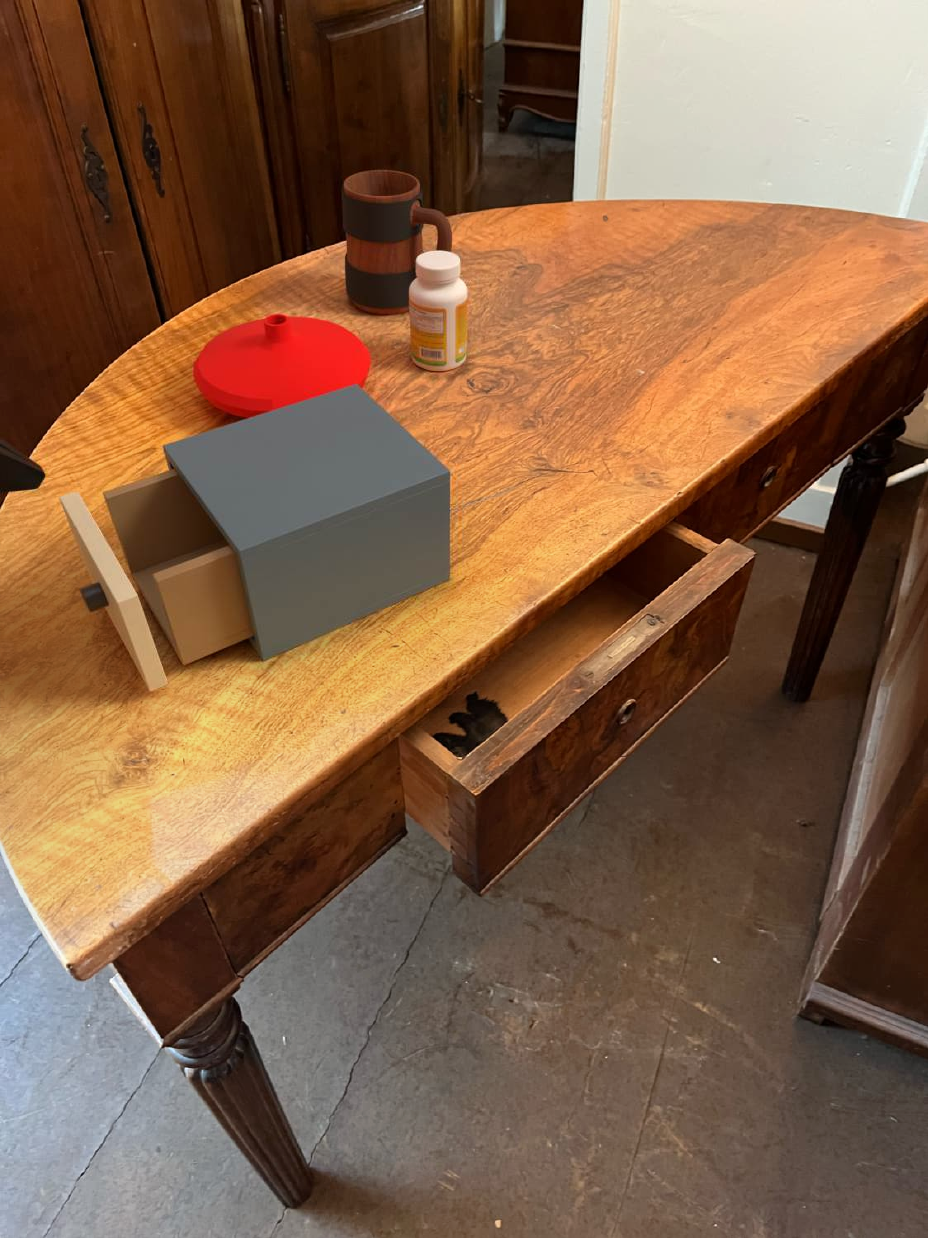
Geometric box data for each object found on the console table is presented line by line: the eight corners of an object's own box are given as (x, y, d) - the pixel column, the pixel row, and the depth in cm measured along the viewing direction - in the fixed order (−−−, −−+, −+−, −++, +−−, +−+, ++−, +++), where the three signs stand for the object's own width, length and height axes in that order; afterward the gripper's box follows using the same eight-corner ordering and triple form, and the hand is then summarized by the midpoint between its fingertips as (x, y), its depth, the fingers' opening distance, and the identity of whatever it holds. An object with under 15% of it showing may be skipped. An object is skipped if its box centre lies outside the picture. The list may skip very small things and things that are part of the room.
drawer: (131, 700, 55) (95, 611, 49) (76, 592, 61) (39, 502, 56) (343, 609, 60) (332, 520, 55) (271, 520, 67) (256, 432, 62)
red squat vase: (273, 464, 74) (260, 388, 69) (164, 393, 81) (145, 320, 76) (408, 391, 82) (406, 318, 77) (298, 332, 89) (289, 263, 84)
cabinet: (263, 661, 58) (238, 550, 51) (191, 554, 66) (162, 445, 59) (450, 579, 64) (450, 470, 57) (365, 489, 71) (356, 383, 65)
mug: (431, 332, 90) (429, 213, 81) (331, 305, 94) (319, 189, 85) (469, 297, 95) (472, 182, 87) (373, 273, 99) (367, 161, 91)
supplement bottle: (451, 340, 89) (452, 242, 82) (476, 365, 85) (478, 265, 78) (402, 351, 87) (398, 252, 80) (425, 377, 84) (422, 276, 77)
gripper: (-206, 266, 30) (178, 442, 42) (-253, 116, 41) (64, 290, 53) (-337, 527, 33) (61, 622, 45) (-348, 320, 43) (-25, 442, 56)
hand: (40, 478), depth 49 cm, fingers closed
